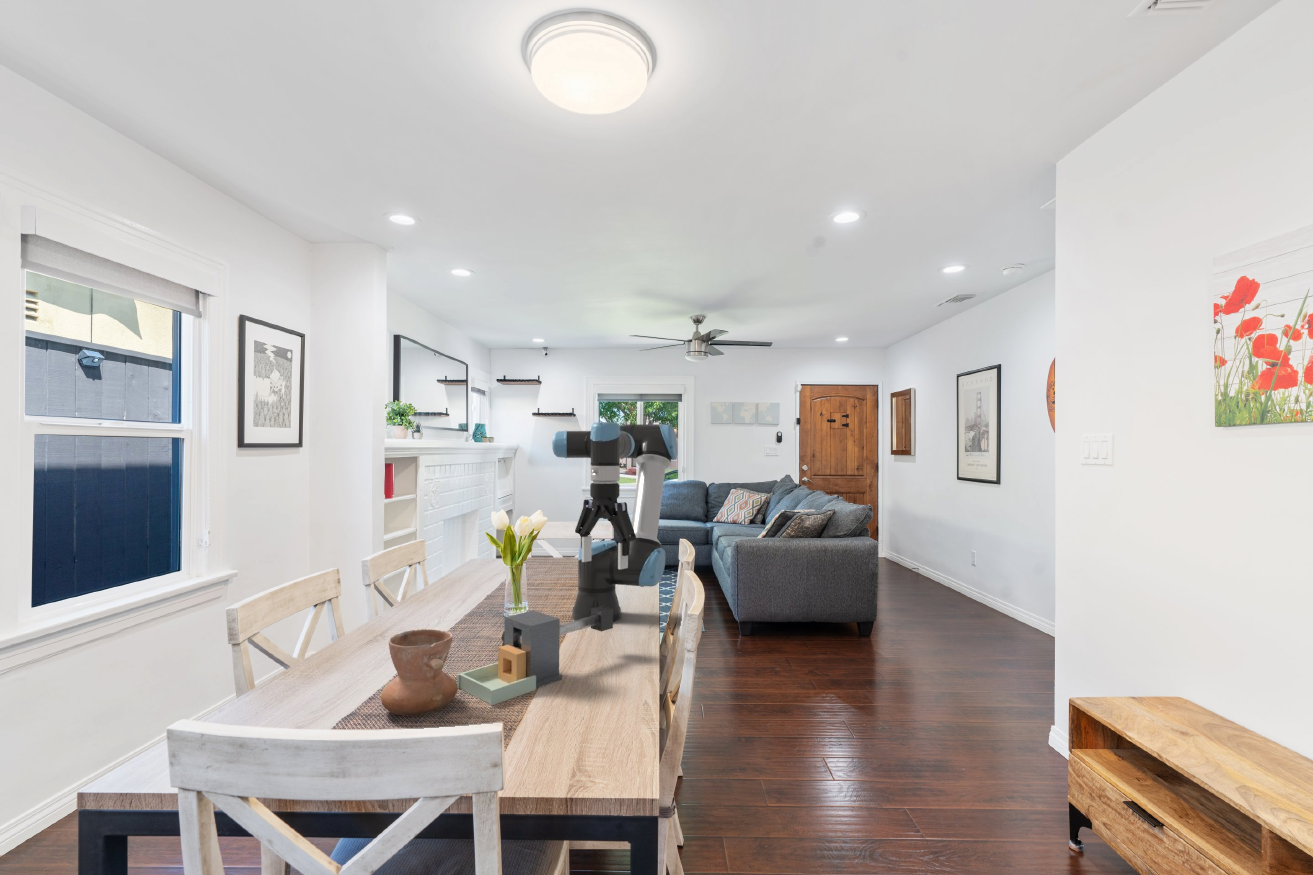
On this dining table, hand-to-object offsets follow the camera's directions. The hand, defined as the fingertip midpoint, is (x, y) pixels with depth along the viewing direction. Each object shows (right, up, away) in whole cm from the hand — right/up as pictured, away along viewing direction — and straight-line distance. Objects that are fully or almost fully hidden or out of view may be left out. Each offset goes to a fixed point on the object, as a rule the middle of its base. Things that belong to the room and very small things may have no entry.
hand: (604, 564), depth 157 cm
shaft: (-8, -16, -9) cm, 20 cm away
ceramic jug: (-35, -22, -33) cm, 53 cm away
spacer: (-19, -18, -21) cm, 34 cm away
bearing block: (-15, -22, -17) cm, 32 cm away
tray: (-21, -22, -24) cm, 39 cm away
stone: (-22, -23, 0) cm, 31 cm away
